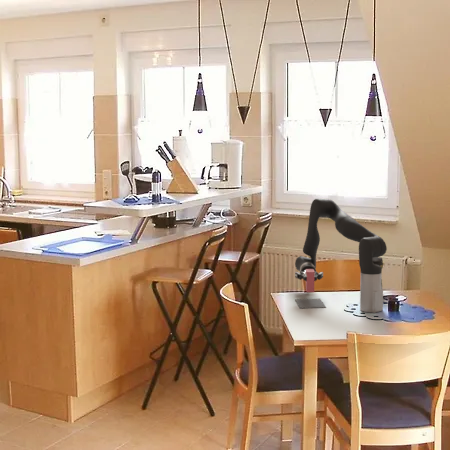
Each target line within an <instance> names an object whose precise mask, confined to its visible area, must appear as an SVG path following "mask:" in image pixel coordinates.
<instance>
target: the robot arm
mask: <svg viewBox="0 0 450 450" xmlns="http://www.w3.org/2000/svg"><path fill="white" fill-rule="evenodd" d="M320 218H328V219H331V220H332V221H333V222H334V226H335V227H334V228H335V229H336V230H337V232H338V233H339V234H340V235H342V236H343V237H344V238H346V239H347V240H351V241H352V242H353V241H354V242H356V243H358V264H359V269H360V286H359V288H360V290H359V292H360V293H359V294H360V296H359V309H360V311H361V312H365V313H379V312H382V311H383V310H384V308H383V307H384V290H383V288H382V289H381V272H382V270H383V268H382V269H381V266H379V265H376V264H374V263H373V258H374V257H382V256H384V255H385V254H386V253H387V250H388V247H387V243H386V242H385V240H384V239H383V238H382V237H380V235H377V234H376V233H375V232H372V231H371V230H369V229H368V228H366V226H364V225H362V224H361V223H359V221H357V220H356V219H354V217H352V216H351V215H349V214H348V213H347V212H346V211H344V210H343V209H342V208H341V207H340V206H339V205H338V204H337V203H336V202H335V201H333V199H330V198H315V199H313V200H312V202H311V204H310V209H309V215H308V225H307V231H306V232H307V233H306V238H305V241H304V244H303V248H302V253H303V254H305V255H306V256H304V255H303V256H302V255H299V256H297V257H296V259H295V262H294V266H295V269H296V270H297V271H295V272H294V278H295V279H298V280H300V281H302V280H303V281H305V282H306V281H307V276H306V269H314V282H317V280H319V281H320V280H322V279H323V278H324V271H321V272H318V271H317V270H316V269H317V252H318V249H319V245H320V241H321V238H320V237H321V236H320V233H319V230H318V221H319V219H320ZM307 256H308V257H307Z"/></svg>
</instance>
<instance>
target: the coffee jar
mask: <svg viewBox="0 0 450 450" xmlns="http://www.w3.org/2000/svg"><path fill="white" fill-rule="evenodd" d="M373 263H374V264H376V265H379V266H381V269H382V270H383V268H384V267H383V266H384V260H383V258H382V256H380V257H374V258H373ZM382 275H383V274H382V272H381V289H382V290H383V279H382V277H383V276H382Z"/></svg>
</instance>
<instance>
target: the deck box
mask: <svg viewBox="0 0 450 450" xmlns="http://www.w3.org/2000/svg"><path fill="white" fill-rule="evenodd" d="M306 276H307V281H305V291H306V293H315V281H314V269H306Z"/></svg>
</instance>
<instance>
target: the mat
mask: <svg viewBox="0 0 450 450" xmlns="http://www.w3.org/2000/svg"><path fill="white" fill-rule="evenodd" d="M294 301H295V302H296V304H297V306H298V307H299V309H324V308H325V309H326V308H327V306H326V304H325V303H324V302H323V301H322V299H321V298H299V299H298V298H297V299H294Z"/></svg>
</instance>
